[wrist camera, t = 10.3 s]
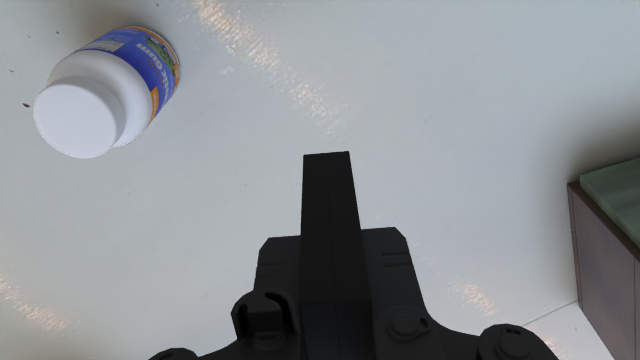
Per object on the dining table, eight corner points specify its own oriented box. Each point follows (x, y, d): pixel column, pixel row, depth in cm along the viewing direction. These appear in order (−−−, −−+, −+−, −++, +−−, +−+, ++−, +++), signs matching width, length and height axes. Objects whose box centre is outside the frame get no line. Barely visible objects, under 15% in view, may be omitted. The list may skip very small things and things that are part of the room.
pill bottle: (192, 95, 32) (150, 163, 23) (119, 109, 32) (51, 180, 24) (164, 15, 29) (104, 59, 20) (84, 32, 29) (-6, 81, 21)
